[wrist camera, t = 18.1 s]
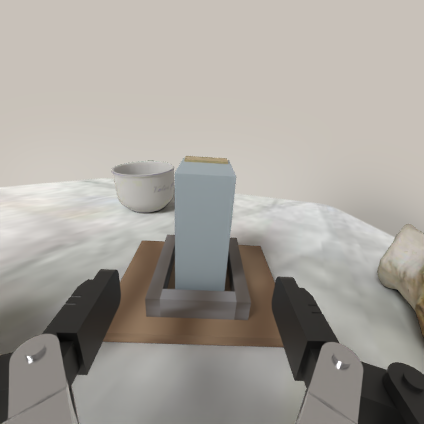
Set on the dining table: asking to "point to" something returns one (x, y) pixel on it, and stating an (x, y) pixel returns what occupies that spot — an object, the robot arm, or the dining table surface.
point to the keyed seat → (195, 301)
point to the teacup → (144, 185)
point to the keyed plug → (203, 222)
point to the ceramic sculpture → (406, 268)
